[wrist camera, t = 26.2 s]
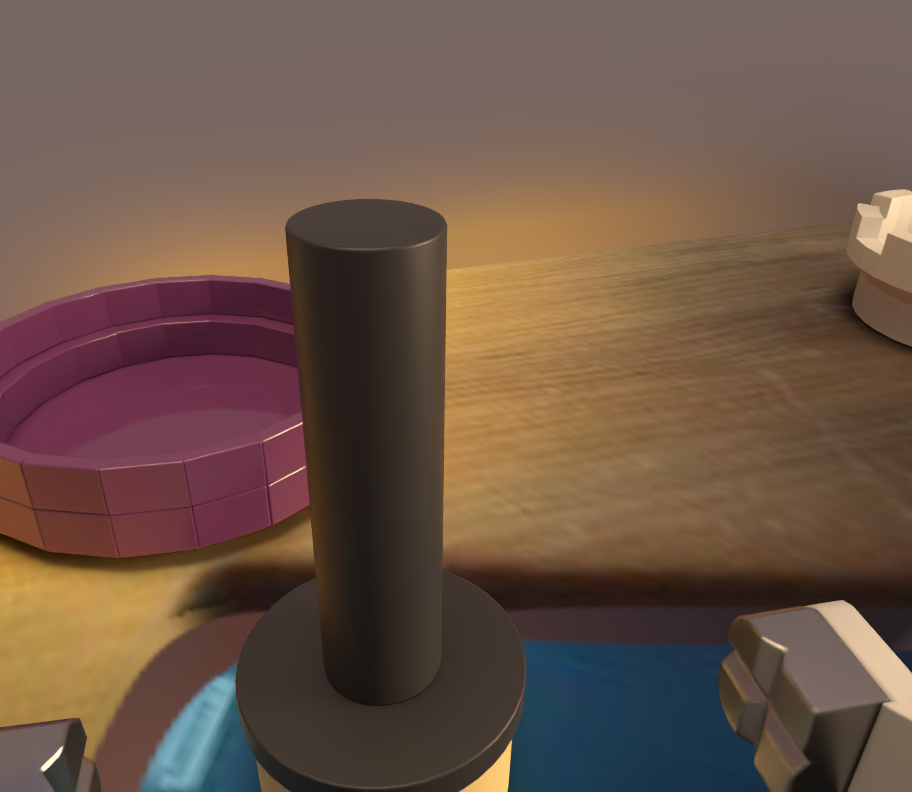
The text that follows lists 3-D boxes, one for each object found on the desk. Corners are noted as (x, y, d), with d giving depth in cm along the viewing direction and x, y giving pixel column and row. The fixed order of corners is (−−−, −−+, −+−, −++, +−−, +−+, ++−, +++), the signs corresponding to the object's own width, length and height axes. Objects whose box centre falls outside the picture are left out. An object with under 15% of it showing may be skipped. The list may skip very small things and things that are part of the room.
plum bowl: (-101, 599, 25) (-147, 493, 23) (24, 367, 38) (1, 285, 36) (399, 541, 27) (396, 441, 25) (355, 343, 40) (351, 266, 38)
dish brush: (251, 930, 17) (131, 315, 10) (255, 683, 22) (178, 175, 15) (550, 870, 18) (627, 284, 11) (483, 650, 23) (508, 165, 16)
